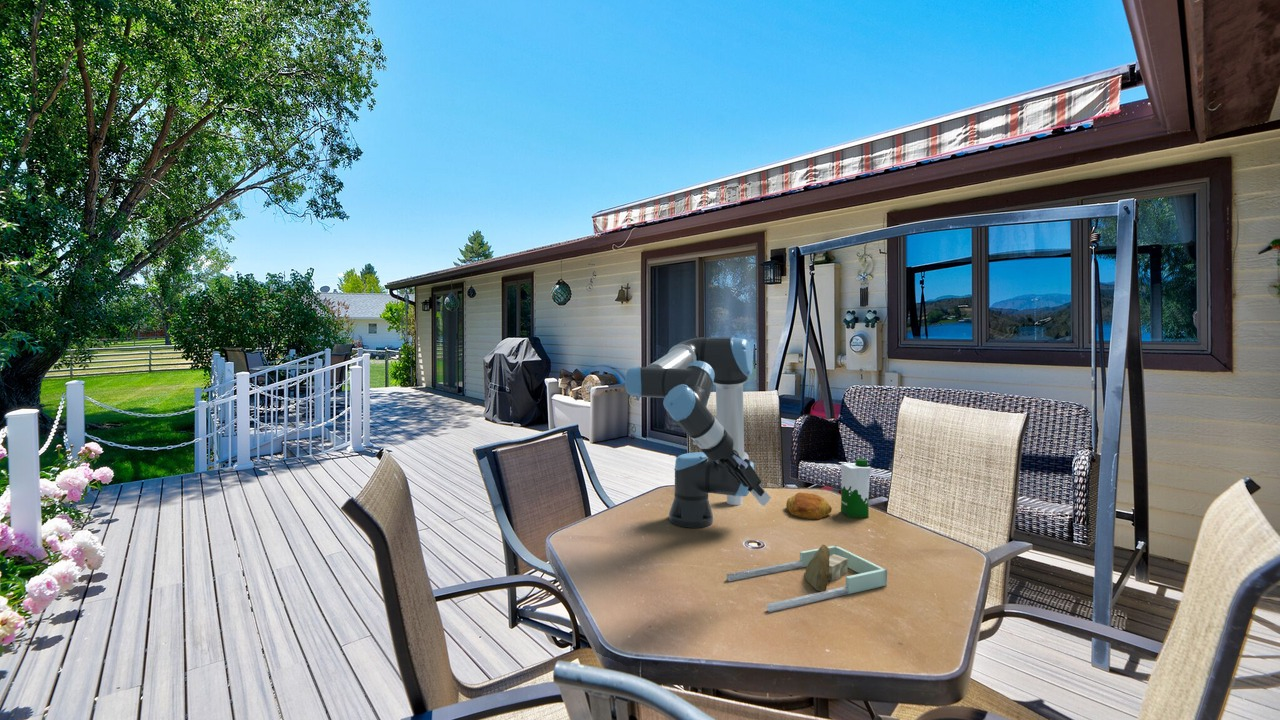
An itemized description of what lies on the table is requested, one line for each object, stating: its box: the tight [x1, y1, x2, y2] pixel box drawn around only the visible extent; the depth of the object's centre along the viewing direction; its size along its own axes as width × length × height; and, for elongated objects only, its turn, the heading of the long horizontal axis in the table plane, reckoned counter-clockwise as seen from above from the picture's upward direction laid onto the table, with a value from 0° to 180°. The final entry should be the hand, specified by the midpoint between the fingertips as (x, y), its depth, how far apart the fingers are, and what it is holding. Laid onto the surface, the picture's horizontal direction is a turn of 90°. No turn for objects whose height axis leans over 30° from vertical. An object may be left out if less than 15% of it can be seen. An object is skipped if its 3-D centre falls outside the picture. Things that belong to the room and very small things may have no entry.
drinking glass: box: [726, 495, 743, 506], centre depth 209 cm, size 7×7×10 cm
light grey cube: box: [828, 559, 841, 582], centre depth 145 cm, size 4×4×4 cm
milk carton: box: [840, 458, 872, 519], centre depth 197 cm, size 9×9×20 cm
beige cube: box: [829, 554, 848, 578], centre depth 148 cm, size 4×4×4 cm
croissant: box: [785, 492, 832, 520], centre depth 198 cm, size 15×16×8 cm
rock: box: [803, 544, 830, 592], centre depth 141 cm, size 10×8×10 cm
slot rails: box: [726, 560, 849, 613], centre depth 138 cm, size 24×18×2 cm
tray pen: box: [799, 545, 888, 595], centre depth 146 cm, size 13×18×4 cm
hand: (765, 501), depth 138 cm, fingers closed
